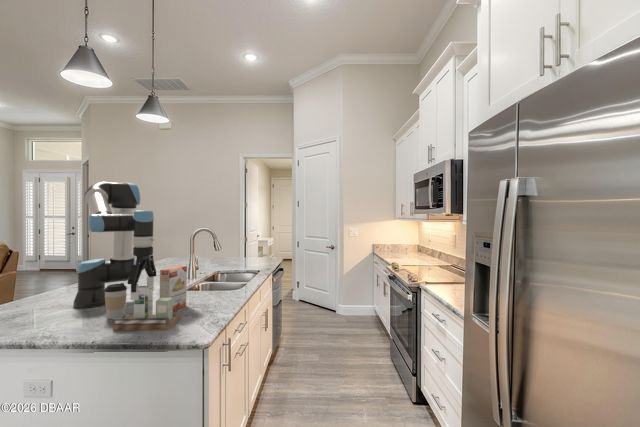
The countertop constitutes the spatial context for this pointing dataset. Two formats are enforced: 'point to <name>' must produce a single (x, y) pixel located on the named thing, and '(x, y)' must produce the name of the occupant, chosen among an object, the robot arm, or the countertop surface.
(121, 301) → the coffee cup
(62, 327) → the countertop surface
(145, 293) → the syrup box
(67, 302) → the countertop surface
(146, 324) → the shelf board
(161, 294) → the cracker box
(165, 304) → the pale green box
